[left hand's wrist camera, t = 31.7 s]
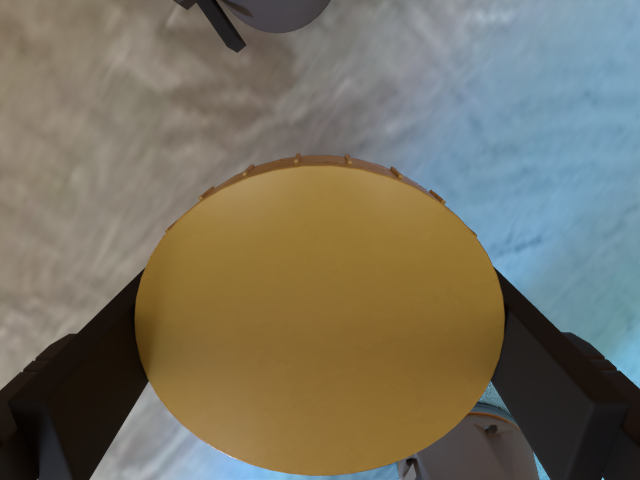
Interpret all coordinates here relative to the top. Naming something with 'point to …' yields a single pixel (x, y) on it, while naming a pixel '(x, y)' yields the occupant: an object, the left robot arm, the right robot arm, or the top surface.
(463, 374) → the lid
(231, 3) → the jar
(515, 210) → the top surface
